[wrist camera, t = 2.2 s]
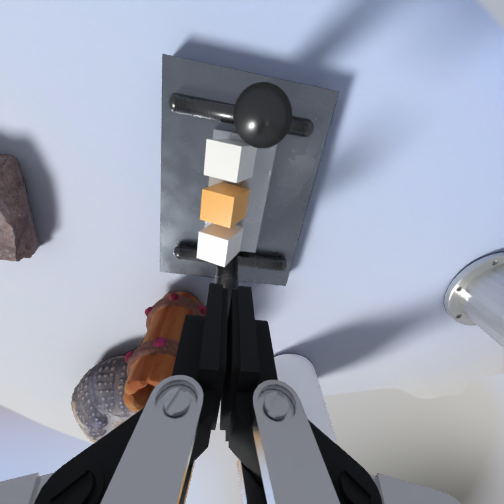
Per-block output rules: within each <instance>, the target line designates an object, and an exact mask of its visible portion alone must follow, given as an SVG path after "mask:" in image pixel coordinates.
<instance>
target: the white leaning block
mask: <svg viewBox="0 0 504 504" xmlns="http://www.w3.org/2000/svg"><path fill="white" fill-rule="evenodd" d="M243 229H244V227H240V226H237V225H234V226H233V227H231V228H227V227H224V226H220V225H217V224H213V223H212V224H210V225H209V226H207V227H205V228H204V229H202V230H201V231H199V235H198V247H197V258H199V259H202V260H205V261H208V262H211V263H214V264H217V265H220V266H223V267H225V266H226V265H227V264H228V263H229V262H230V261H231V260H232V259H233V258H234V257H235V256H236V255H237V254H238V253H239V252H240V247H241V241H242V235H243Z"/></svg>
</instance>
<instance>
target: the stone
mask: <svg viewBox="0 0 504 504" xmlns="http://www.w3.org/2000/svg"><path fill="white" fill-rule="evenodd" d="M38 247H39V241H38V237H37V233H36V230H35V226H34V221H33V218H32V214H31V210H30V206H29V202H28V198H27V191H26V189H25V181H24V178H23V176H22V173H21V171H20V167H19V162H18V161H17V159H16V158H15V157H14V156H11V155H7V154H3V155H2V154H0V260H9V261H20V260H21V259H23V258H31V257H32V255H33V254H34V253H35V251H36V250H37V249H38Z"/></svg>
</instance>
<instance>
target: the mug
mask: <svg viewBox="0 0 504 504" xmlns="http://www.w3.org/2000/svg"><path fill="white" fill-rule="evenodd" d="M145 314H146V316H147V321H146V327H147V333H146V335H145V337H144V339H143V341H142V344H141V345H139V346H138V347H137V348H136V349H135V350H134V351H130V352H128V353H127V354H126V356H125V361H126V362H127V363H128V366H127V375H128V379H127V381H126V383H125V388H124V389H125V392H124V395H123V398H124V403H125V405H126V406H127V407H128V408H129V410H130V411H132V412H136V411H140V410H141V409H143V408H144V407H145V405H146V403H147V401H148V399H149V397H150V395H151V393H152V391H153V390H154V388H155V386H156V385H158V384H159V383H160V382H161V381H162V380H164V379H166V378H168V377H170V376H172V371H173V367H174V363H175V359H176V354H177V350H178V346H179V341H180V337H181V333H182V328H183V324H184V320H185V316H186V314H190V315H202V316H206V307H205V306H203V305H202V303H201V302H200V301H199V300H198V299H197V298H196V297H195V296H193V295H192V294H190V293H187V292H182V291H179V292H173V293H169V294H167V295H165V296H164V297H163V298H162V299H161V300H159V301H158V302H157V303H156V304H155V305H154V306H152V307H149V308H147V309H146V310H145Z"/></svg>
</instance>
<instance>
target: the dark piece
mask: <svg viewBox="0 0 504 504" xmlns="http://www.w3.org/2000/svg"><path fill="white" fill-rule="evenodd" d="M338 94H339V92H338V91H334V90H329V89H324V88H320V87H315V86H310V85H306V84H301V83H296V82H292V81H287V80H282V79H278V78H273V77H268V76H264V75H259V74H254V73H250V72H245V71H240V70H236V69H231V68H226V67H222V66H217V65H212V64H207V63H203V62H198V61H193V60H189V59H184V58H179V57H175V56H170V55H165V54H163V55H162V136H161V218H160V272H168V273H177V274H186V275H195V276H203V277H212V278H215V280H214V283H216V284H223V288H228V309H229V303H230V297H231V291H232V289H237V286H238V281H247V282H256V283H264V284H273V285H282V286H286V283H287V279H288V276H289V272H290V268H291V265H292V261H293V257H294V254H295V250H296V247H297V243H298V239H299V236H300V232H301V228H302V225H303V221H304V217H305V214H306V210H307V207H308V203H309V199H310V196H311V192H312V188H313V185H314V181H315V178H316V174H317V170H318V167H319V163H320V159H321V156H322V152H323V148H324V145H325V141H326V138H327V134H328V130H329V127H330V123H331V119H332V116H333V112H334V109H335V105H336V101H337V98H338ZM207 139H230V140H235V141H239V142H244V143H247V144H248V145H250V146H252V147H255V148H257V152H256V158H255V164H254V170H253V176H252V177H251V178H248V179H246V180H243V181H241V182H238V183H234V182H230V181H226V180H222V179H218V178H214V177H210V176H206V175H204V164H205V152H206V140H207ZM221 182H223V183H227V184H231V185H235V186H239V187H243V188H247V189H250V193H249V199H248V205H247V211H246V217H244V218H243V219H242V220H240V221H239V222H238V223H236V224H235V225H237V226H240V227H244V229H243V235H242V241H241V247H240V252H239V253H238V254H237V255H236V256H235V257H234V258H233V259H232V260H231V261H230V262H229V263H228V264H227V265H226V266H225V267H223V266H220V265H217V264H214V263H211V262H208V261H205V260H202V259H199V258H197V247H198V235H199V231H201V230H202V229H204V228H205V227H207V226H209V225H210V224H212V223H210V222H207V221H203V220H200V211H201V199H202V189H204V188H207V187H210V186H212V185H215V184H218V183H221Z"/></svg>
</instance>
